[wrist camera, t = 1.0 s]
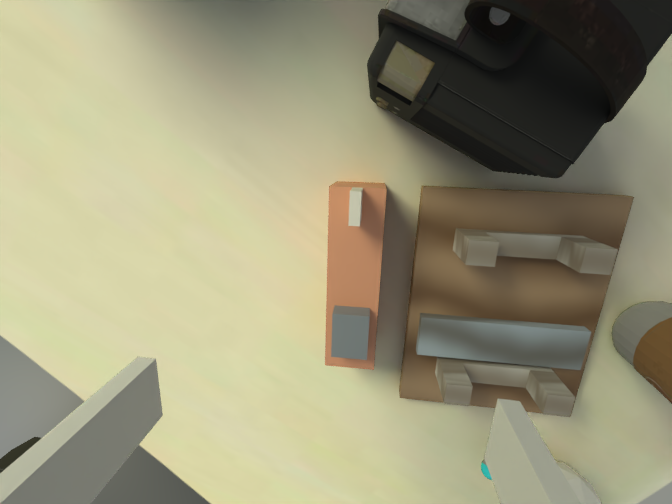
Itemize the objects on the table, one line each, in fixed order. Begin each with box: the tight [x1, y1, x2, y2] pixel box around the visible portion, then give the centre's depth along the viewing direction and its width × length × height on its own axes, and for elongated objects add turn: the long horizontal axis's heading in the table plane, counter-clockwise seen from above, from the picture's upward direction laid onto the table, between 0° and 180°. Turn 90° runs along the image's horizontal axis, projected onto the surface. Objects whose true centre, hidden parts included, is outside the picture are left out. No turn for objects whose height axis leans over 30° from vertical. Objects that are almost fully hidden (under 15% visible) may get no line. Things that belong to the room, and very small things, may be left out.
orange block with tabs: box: [325, 181, 387, 370], centre depth 29 cm, size 16×4×9 cm, turn 178°
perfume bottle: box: [481, 459, 602, 504], centre depth 34 cm, size 8×8×12 cm
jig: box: [399, 186, 634, 417], centre depth 30 cm, size 22×17×6 cm
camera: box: [367, 0, 672, 178], centre depth 20 cm, size 11×14×15 cm
